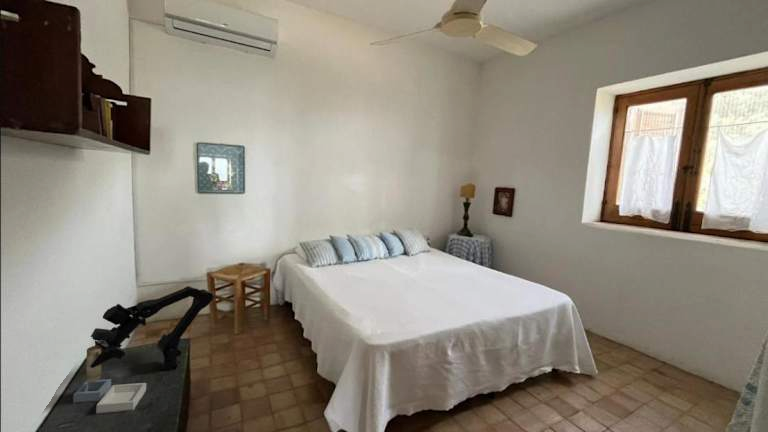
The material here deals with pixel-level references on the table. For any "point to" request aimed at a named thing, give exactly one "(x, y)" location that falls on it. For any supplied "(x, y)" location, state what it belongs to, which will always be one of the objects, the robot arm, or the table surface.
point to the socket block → (86, 395)
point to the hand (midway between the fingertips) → (89, 364)
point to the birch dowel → (95, 372)
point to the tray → (121, 398)
